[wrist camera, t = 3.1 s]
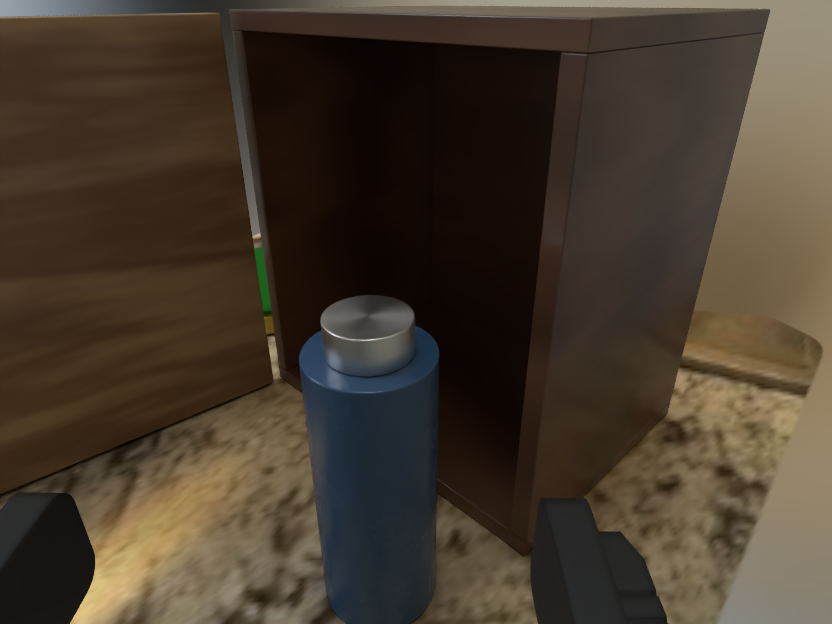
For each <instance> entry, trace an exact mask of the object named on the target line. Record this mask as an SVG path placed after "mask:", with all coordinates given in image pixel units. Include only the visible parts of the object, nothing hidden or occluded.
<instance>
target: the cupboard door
mask: <svg viewBox="0 0 832 624" xmlns="http://www.w3.org/2000/svg"><path fill="white" fill-rule="evenodd" d="M272 382H273V374H272V368H271V361H270V354H269V347H268V340H267V334H266V327H265V320H264V313H263V306H262V300H261V293H260V286H259V279H258V272H257V265H256V259H255V252H254V245H253V238H252V231H251V225H250V218H249V211H248V204H247V197H246V191H245V184H244V177H243V170H242V164H241V157H240V150H239V143H238V137H237V130H236V124H235V116H234V110H233V103H232V96H231V89H230V82H229V75H228V69H227V61H226V55H225V49H224V41H223V35H222V29H221V21H220V15H219V13H176V14H124V15H73V16H72V15H71V16H22V17H21V16H18V17H0V494H2V493H5V492H7V491H10V490H12V489H14V488H17V487H19V486H22V485H24V484H27V483H29V482H31V481H34V480H36V479H39V478H41V477H44V476H46V475H48V474H51V473H53V472H56V471H58V470H61V469H63V468H65V467H68V466H70V465H73V464H75V463H78V462H80V461H82V460H85V459H87V458H90V457H92V456H95V455H97V454H99V453H102V452H104V451H107V450H109V449H112V448H114V447H116V446H119V445H121V444H124V443H126V442H129V441H131V440H134V439H136V438H138V437H141V436H143V435H146V434H148V433H151V432H153V431H155V430H158V429H160V428H163V427H165V426H168V425H170V424H172V423H175V422H177V421H180V420H182V419H185V418H187V417H189V416H192V415H194V414H197V413H199V412H202V411H204V410H206V409H209V408H211V407H214V406H216V405H219V404H221V403H223V402H226V401H228V400H231V399H233V398H236V397H238V396H240V395H243V394H245V393H248V392H250V391H253V390H255V389H257V388H260V387H262V386H265V385H267V384H270V383H272Z"/></svg>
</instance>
